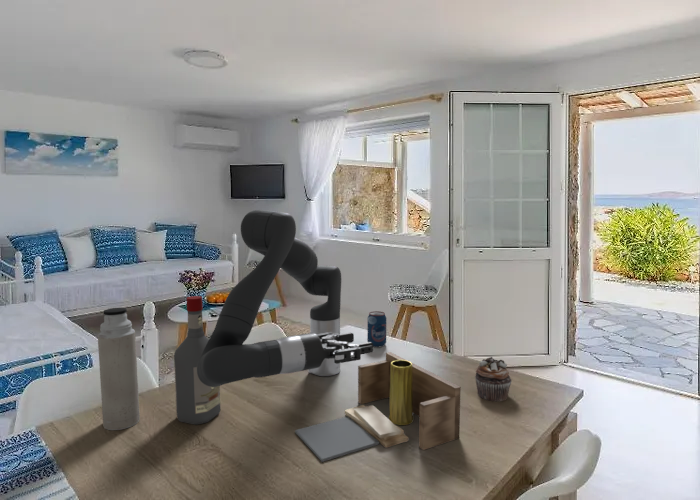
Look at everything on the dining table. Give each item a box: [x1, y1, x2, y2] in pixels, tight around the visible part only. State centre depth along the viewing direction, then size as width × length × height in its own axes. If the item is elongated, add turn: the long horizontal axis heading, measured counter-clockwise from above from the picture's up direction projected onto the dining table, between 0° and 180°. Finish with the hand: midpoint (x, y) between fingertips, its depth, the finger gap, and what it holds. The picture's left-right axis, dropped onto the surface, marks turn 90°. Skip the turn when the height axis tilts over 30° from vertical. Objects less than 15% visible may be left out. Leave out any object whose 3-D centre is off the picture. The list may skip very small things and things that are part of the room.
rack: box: [344, 351, 462, 451], centre depth 113 cm, size 17×28×12 cm, turn 30°
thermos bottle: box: [97, 307, 141, 431], centre depth 112 cm, size 8×8×28 cm
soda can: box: [366, 310, 387, 348], centre depth 173 cm, size 7×7×12 cm
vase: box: [387, 359, 414, 426], centre depth 114 cm, size 6×6×14 cm
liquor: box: [173, 295, 221, 426], centre depth 116 cm, size 9×9×30 cm
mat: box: [294, 416, 380, 463], centre depth 106 cm, size 14×14×1 cm
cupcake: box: [474, 356, 513, 402], centre depth 129 cm, size 10×10×10 cm
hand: (362, 341), depth 107 cm, fingers open, 8 cm apart
